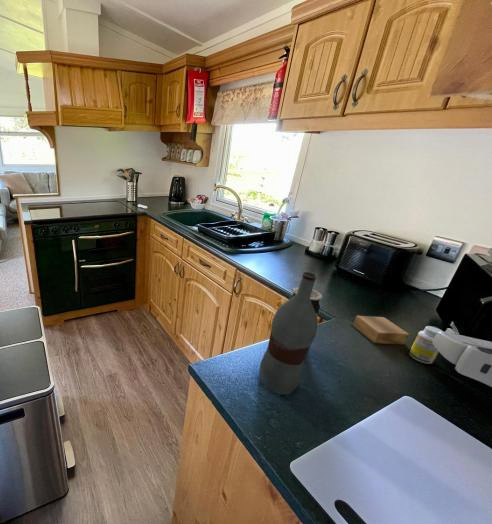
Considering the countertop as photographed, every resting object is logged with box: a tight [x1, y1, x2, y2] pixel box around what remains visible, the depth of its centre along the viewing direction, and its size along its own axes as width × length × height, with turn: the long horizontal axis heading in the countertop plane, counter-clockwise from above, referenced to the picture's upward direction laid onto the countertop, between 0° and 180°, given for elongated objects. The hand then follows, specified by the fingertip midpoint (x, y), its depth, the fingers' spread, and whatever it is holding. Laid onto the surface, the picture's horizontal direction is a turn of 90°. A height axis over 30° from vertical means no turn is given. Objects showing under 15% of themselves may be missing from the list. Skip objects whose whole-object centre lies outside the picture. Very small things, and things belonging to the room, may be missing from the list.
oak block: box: [352, 315, 410, 345], centre depth 96 cm, size 10×10×4 cm
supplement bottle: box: [408, 325, 443, 365], centre depth 85 cm, size 6×6×10 cm
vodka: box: [258, 271, 318, 396], centre depth 67 cm, size 9×9×30 cm
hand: (474, 336), depth 70 cm, fingers open, 8 cm apart
